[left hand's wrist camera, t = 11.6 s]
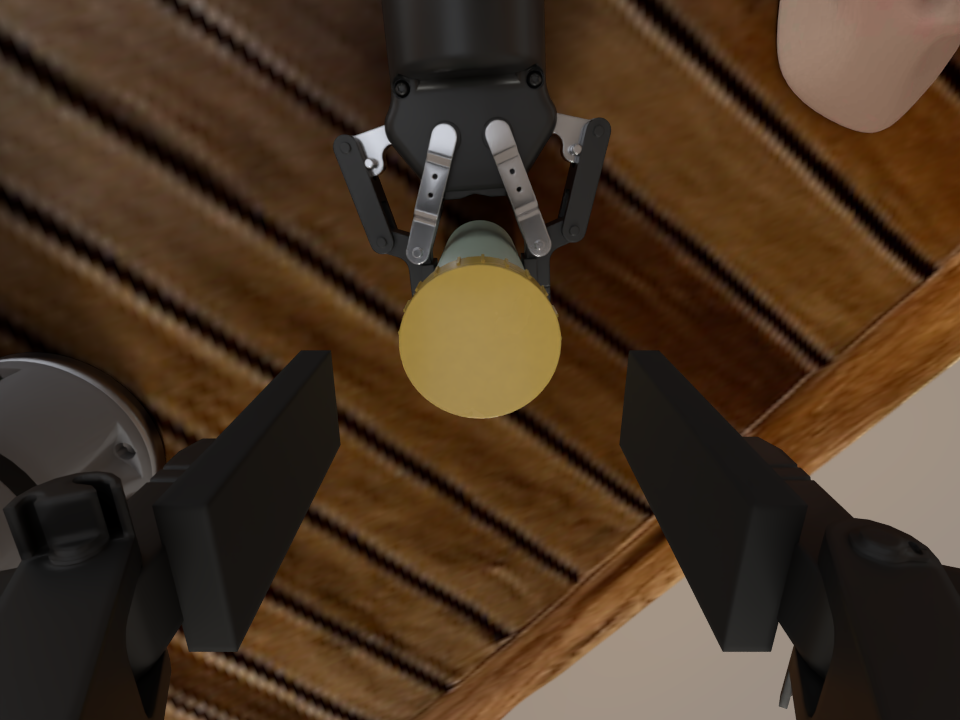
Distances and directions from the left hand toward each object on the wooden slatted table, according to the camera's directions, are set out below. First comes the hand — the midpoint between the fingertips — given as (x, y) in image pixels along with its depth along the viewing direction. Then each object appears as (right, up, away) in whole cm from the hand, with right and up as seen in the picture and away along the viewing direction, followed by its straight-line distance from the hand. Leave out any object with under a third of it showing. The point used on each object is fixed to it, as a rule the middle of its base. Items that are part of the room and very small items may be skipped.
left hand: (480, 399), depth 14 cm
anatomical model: (+22, +22, +17) cm, 35 cm away
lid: (0, +2, +4) cm, 5 cm away
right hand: (0, +3, +16) cm, 16 cm away
